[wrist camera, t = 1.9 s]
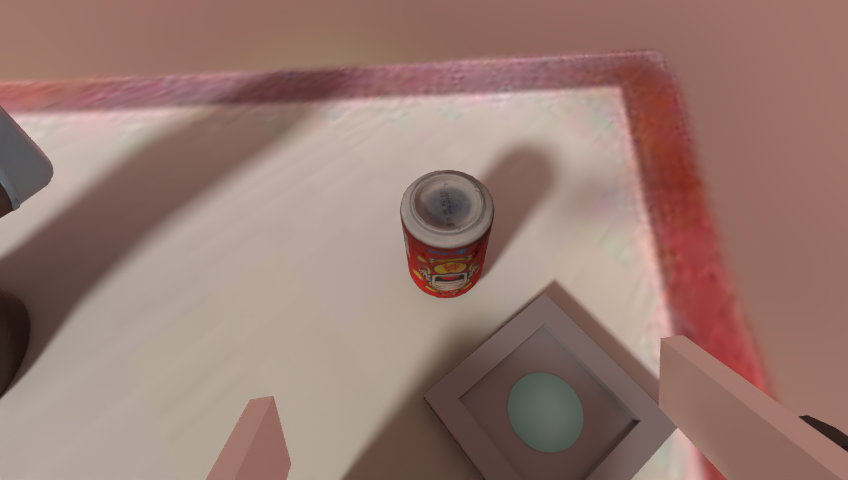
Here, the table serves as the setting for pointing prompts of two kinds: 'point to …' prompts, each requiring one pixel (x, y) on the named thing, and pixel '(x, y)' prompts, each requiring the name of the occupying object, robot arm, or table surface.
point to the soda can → (446, 231)
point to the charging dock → (548, 404)
